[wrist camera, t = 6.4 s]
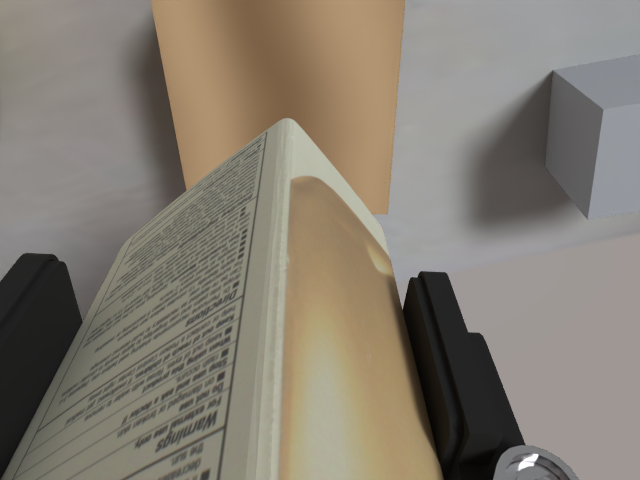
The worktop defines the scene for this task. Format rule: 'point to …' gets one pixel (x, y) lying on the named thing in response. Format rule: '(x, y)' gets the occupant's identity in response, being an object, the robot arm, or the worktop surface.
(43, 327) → the robot arm
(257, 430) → the skincare box
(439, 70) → the worktop surface
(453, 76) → the worktop surface
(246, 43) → the oak block
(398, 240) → the worktop surface
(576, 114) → the grey block
